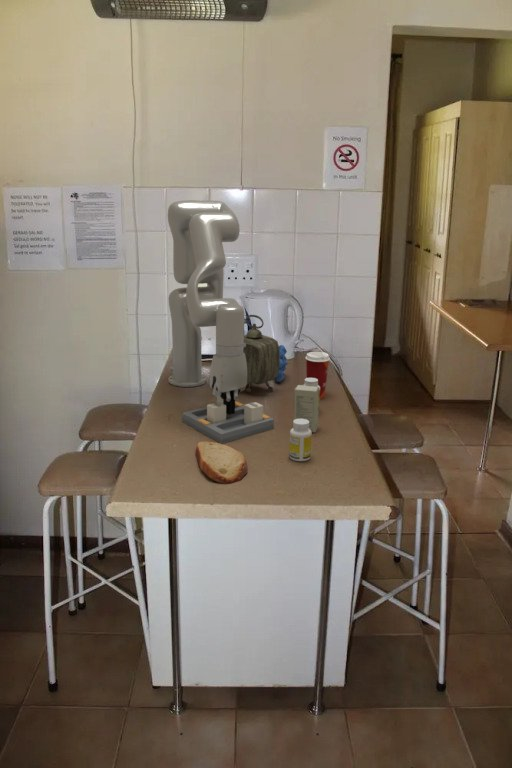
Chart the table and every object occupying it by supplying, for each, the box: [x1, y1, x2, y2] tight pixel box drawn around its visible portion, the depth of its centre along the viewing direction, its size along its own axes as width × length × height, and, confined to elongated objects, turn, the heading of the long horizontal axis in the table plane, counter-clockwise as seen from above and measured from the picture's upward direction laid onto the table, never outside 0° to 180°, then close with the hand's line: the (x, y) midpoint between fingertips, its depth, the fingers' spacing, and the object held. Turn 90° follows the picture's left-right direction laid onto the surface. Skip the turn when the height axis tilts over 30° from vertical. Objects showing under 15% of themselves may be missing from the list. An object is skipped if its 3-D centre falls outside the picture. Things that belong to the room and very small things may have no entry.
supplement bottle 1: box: [288, 419, 313, 462], centre depth 166 cm, size 5×5×10 cm
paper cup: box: [305, 351, 331, 400], centre depth 209 cm, size 8×8×14 cm
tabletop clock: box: [243, 314, 280, 393], centre depth 211 cm, size 14×9×25 cm, turn 53°
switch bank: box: [181, 400, 275, 444], centre depth 186 cm, size 19×18×3 cm
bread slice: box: [195, 441, 248, 485], centre depth 162 cm, size 18×18×4 cm
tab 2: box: [243, 401, 264, 425], centre depth 184 cm, size 3×4×6 cm
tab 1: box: [206, 401, 226, 424], centre depth 183 cm, size 3×4×6 cm
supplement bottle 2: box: [303, 377, 321, 413], centre depth 196 cm, size 6×6×10 cm
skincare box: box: [293, 384, 320, 433], centre depth 183 cm, size 6×4×12 cm
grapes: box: [274, 344, 288, 383], centre depth 224 cm, size 12×7×12 cm, turn 171°
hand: (229, 412), depth 186 cm, fingers closed
